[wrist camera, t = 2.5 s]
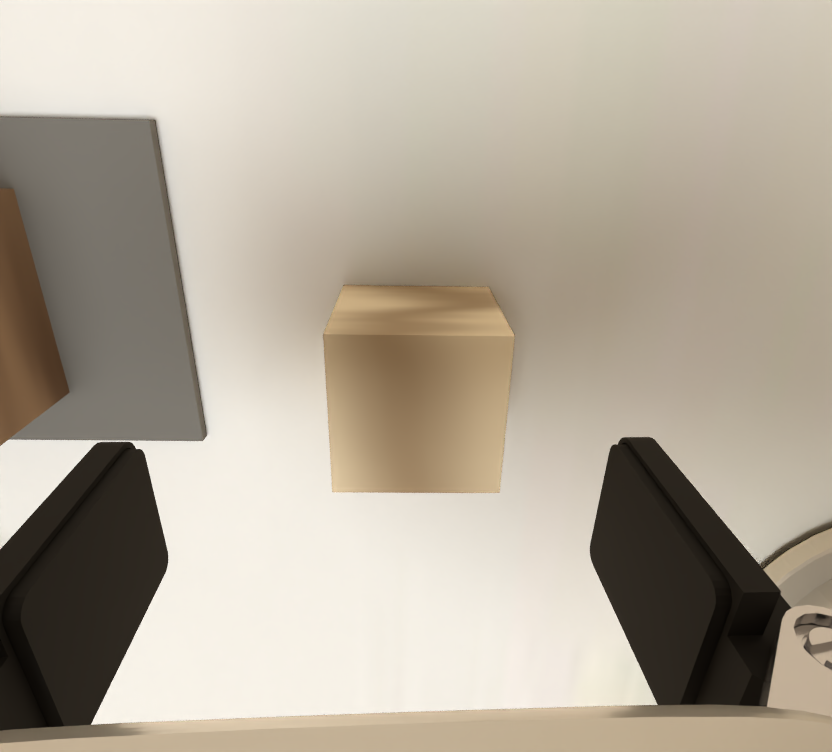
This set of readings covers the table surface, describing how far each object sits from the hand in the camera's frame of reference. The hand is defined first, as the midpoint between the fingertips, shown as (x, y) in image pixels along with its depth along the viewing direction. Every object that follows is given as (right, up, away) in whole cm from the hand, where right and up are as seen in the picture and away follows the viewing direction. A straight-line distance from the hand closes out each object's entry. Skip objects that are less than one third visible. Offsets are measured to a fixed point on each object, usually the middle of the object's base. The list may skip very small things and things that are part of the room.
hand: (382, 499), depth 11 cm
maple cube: (+1, +3, +9) cm, 9 cm away
